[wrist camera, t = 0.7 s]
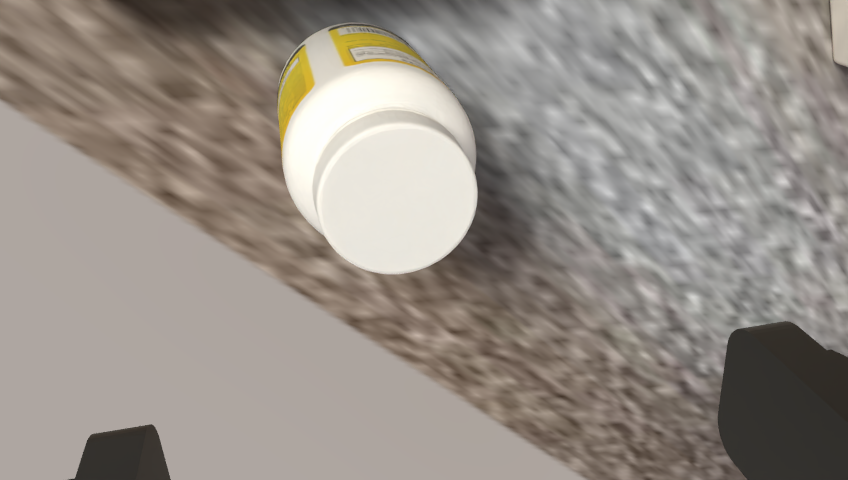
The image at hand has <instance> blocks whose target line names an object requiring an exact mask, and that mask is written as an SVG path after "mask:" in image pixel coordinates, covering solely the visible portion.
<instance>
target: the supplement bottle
mask: <svg viewBox="0 0 848 480" xmlns="http://www.w3.org/2000/svg"><path fill="white" fill-rule="evenodd" d="M277 106H278V118H279V128H280V139H281V152H282V164H283V171H284V176H285V180H286V184H287V187H288V190H289V193H290V195H291V197H292V200H293V201H294V203H295V205H296V206H297V208H298V210H299V211H300V212H301V214H302V215H303V216H304V217H305V219H306V220H307V221H308V222H309V223H310V224H311V225H312V226H313V227H314V228H315V229H316V230H317V231H318V232H320V233H321V234H323V235H324V236H325V237H326V239H327V241H328V242H329V243H330V245H331V246H332V247H333V248H334V250H335V251H336V252H337V253H338V254H339V255H341V256H342V257H343V258H344V259H346V260H347V261H349V262H350V263H352V264H353V265H355V266H357V267H359V268H362V269H364V270H367V271H371V272H375V273H382V274H403V273H409V272H414V271H417V270H421V269H423V268H426V267H428V266H431V265H432V264H434V263H436V262H438V261H439V260H441V259H442V258H444V257H445V256H447V255H448V254H449V253H450V252H451V251H452V250H453V249H454V248H455V247H456V246H457V245H458V244H459V243H460V242H461V240H462V239H463V238H464V236H465V235H466V233H467V231H468V229H469V228H470V226H471V224H472V221H473V218H474V215H475V212H476V207H477V199H478V187H477V181H476V176H475V167H476V143H475V137H474V133H473V129H472V126H471V123H470V121H469V118H468V117H467V115H466V113H465V111H464V109H463V108H462V106H461V104H460V103H459V101H458V100H457V98H456V97H455V96H454V94H453V93H452V92H451V91H450V90H449V88H448V87H447V86H446V85H445V84H444V83H443V82H442V81H441V80H440V78H439V77H438V76H437V75H436V74H435V73H434V72H433V71H432V69H431V68H430V67H429V66H428V65H427V64H426V63H425V61H424V60H423V59H422V58H421V57H420V56H419V55H418V54H417V53H416V52H415V51H414V50H413V48H412V47H411V46H410V45H409V44H408V43H407V42H406V41H404V40H403V39H402V38H400V37H399V36H397V35H396V34H394V33H392V32H391V31H388V30H386V29H384V28H382V27H379V26H376V25H371V24H366V23H355V22H350V23H342V24H337V25H333V26H330V27H327V28H324V29H322V30H320V31H318V32H316V33H314V34H313V35H311V36H310V37H308V38H307V39H306V40H305V41H304V42H302V43H301V44H300V45H299V46H298V47H297V48H296V50H295V51H294V52H293V53H292V55H291V56H290V58H289V60H288V61H287V63H286V65H285V67H284V69H283V72H282V74H281V77H280V81H279V86H278V96H277Z"/></svg>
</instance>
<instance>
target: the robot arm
mask: <svg viewBox="0 0 848 480" xmlns="http://www.w3.org/2000/svg"><path fill="white" fill-rule="evenodd" d="M718 426H719V432H720V436H721V440H722V442H723V445H724V447H725V450H726V452H727V453H728V455H729V457H730V458H731V460H732V461H733V462H734V464H735V465H736V466H737V467H738V468H739V470H740V471H741V472H742V473H743V475H744V476H745V477H746V478H747V480H848V357H846V356H844V355H842V354H840V353H837V352H835V351H833V350H826V349H825V348H823V347H822V346H821V345H820V344H819V343H817V342H816V341H815V340H814V339H812V338H811V337H810V336H809V335H808V334H806V333H805V332H804V331H803V330H802V329H800V328H799V327H798V326H796V325H795V324H793V323H791V322H787V321H785V322H778V323H772V324H766V325H760V326H754V327H748V328H742V329H737V330H735V331H734V332H733V333H732V334H731V335H730V337H729V340H728V345H727V352H726V359H725V367H724V374H723V381H722V389H721V396H720V404H719V411H718ZM69 480H171V479H170V476H169V472H168V468H167V465H166V461H165V458H164V454H163V450H162V446H161V442H160V439H159V435H158V433H157V430H156V429H155V427H154V426H153V425H145V426H139V427H133V428H127V429H121V430H115V431H109V432H103V433H96V434H92V435H91V436H90V437H89V438H88V440H87V443H86V446H85V449H84V452H83V455H82V458H81V462H80V465H79V468H78V471H77V474H76V477H75V479H69Z"/></svg>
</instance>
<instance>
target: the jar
mask: <svg viewBox="0 0 848 480" xmlns="http://www.w3.org/2000/svg"><path fill="white" fill-rule="evenodd" d="M830 10H831V26H832V43H833V58H834V61H835V62H836V63H837V64H840V65H843V66H846V67H848V0H830Z"/></svg>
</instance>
